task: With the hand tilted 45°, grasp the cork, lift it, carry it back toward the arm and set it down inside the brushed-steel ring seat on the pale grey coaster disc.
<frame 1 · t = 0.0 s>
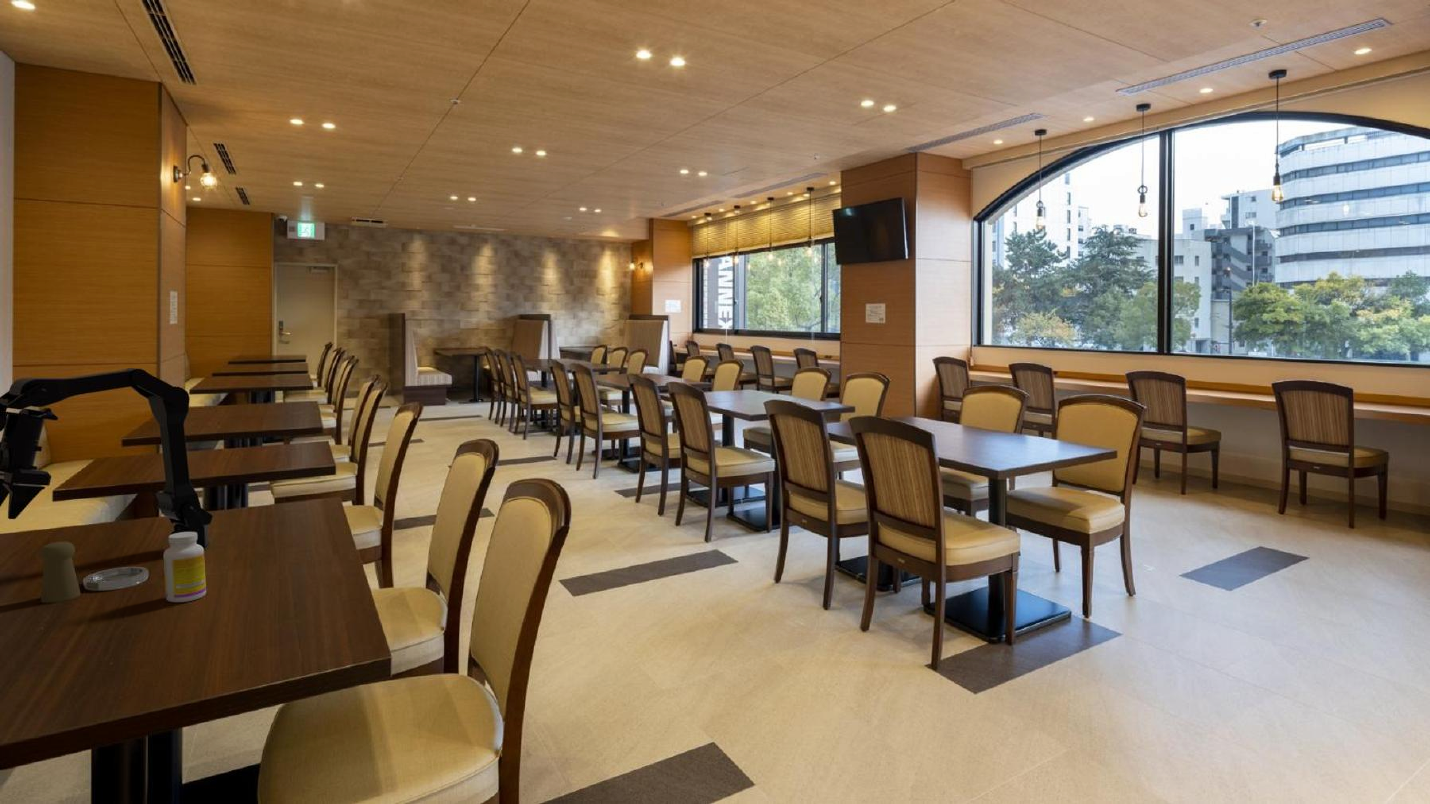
hand: (1, 516, 153), 15 cm above the table, tool pointing down, fingers open, 9 cm apart
ring seat: (116, 582, 160), on the table
cork: (61, 598, 151), on the table
supplement bottle: (186, 598, 152), on the table
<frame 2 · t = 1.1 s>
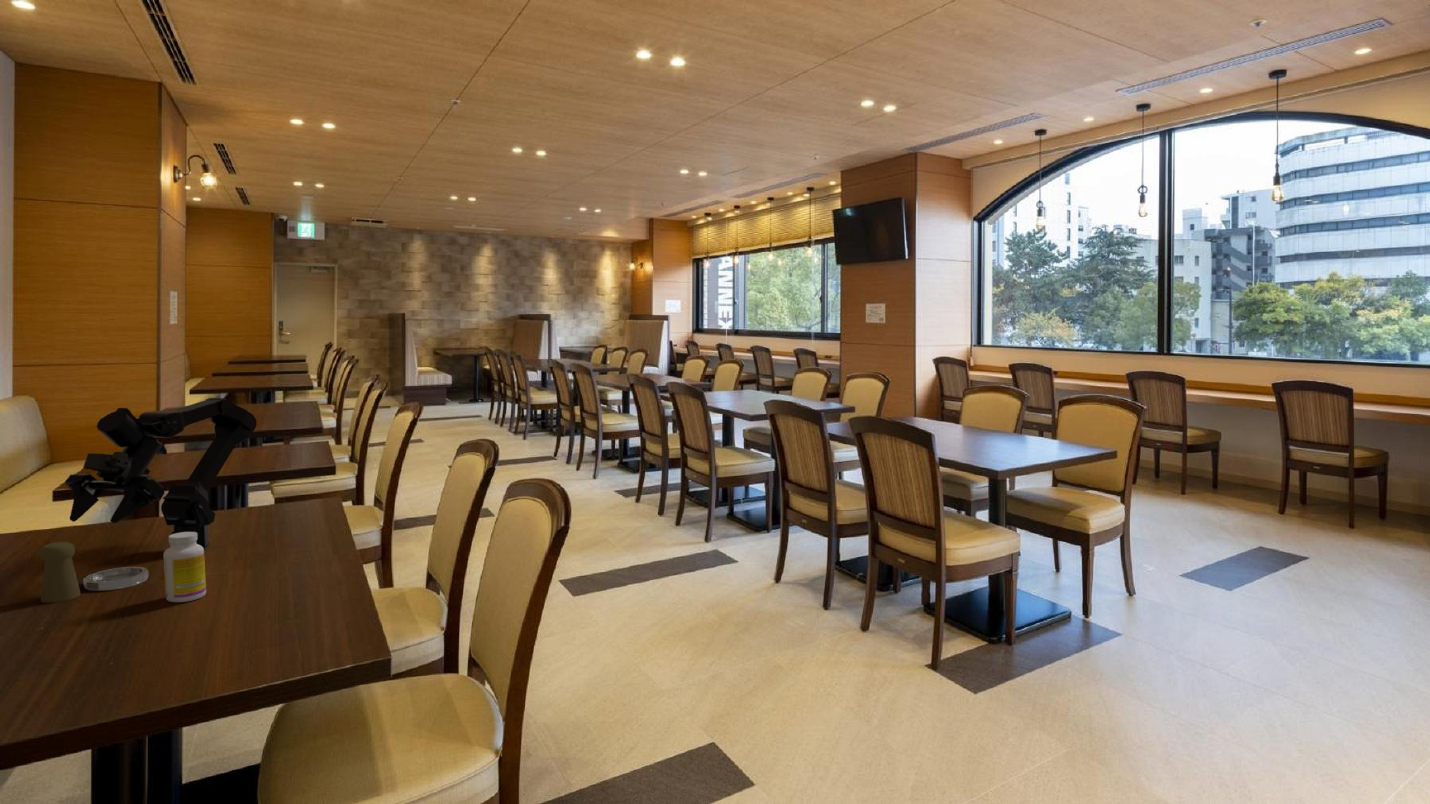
hand: (92, 521, 158), 13 cm above the table, tool tilted 45°, fingers open, 9 cm apart
nothing on the table moved.
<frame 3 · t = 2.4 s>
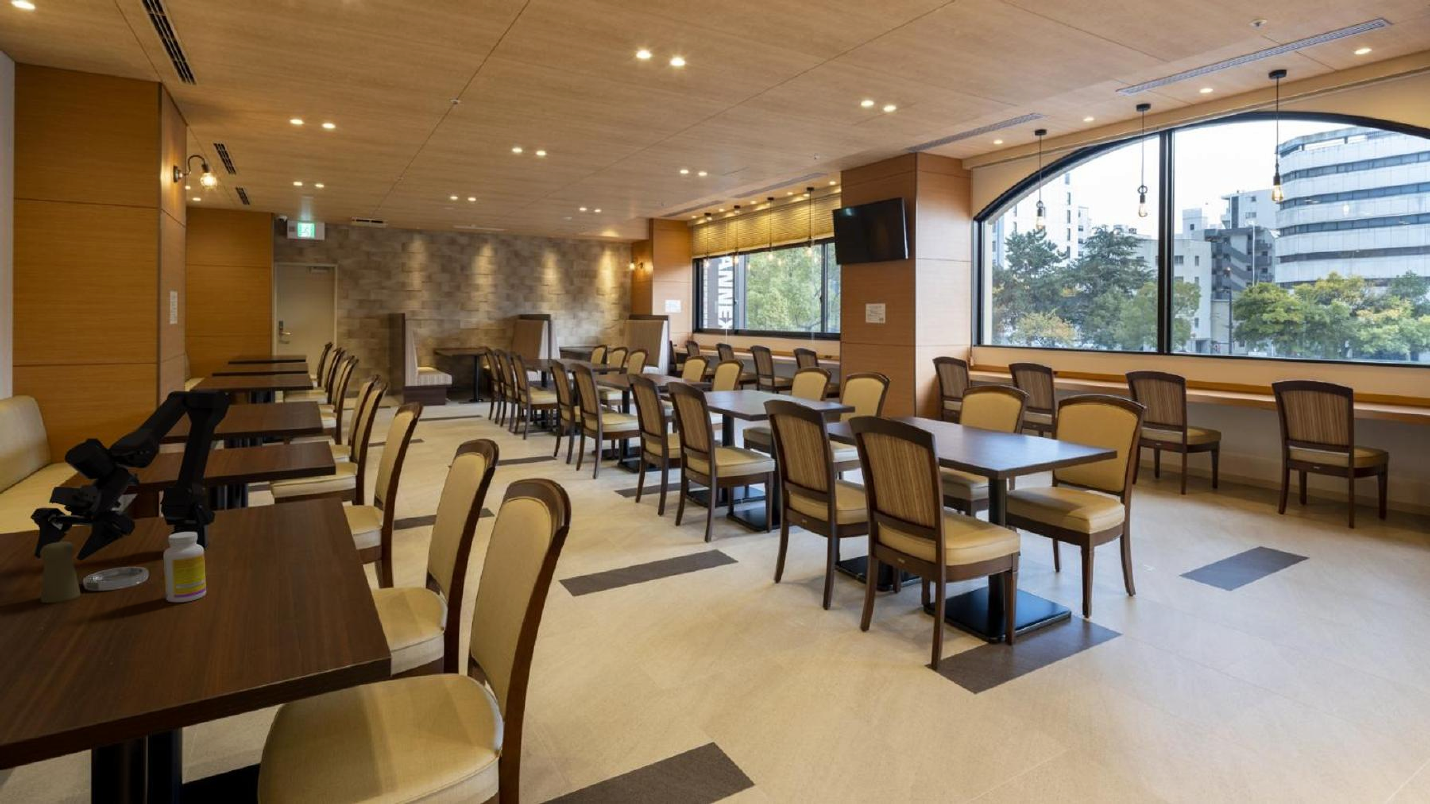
hand: (57, 558, 150), 8 cm above the table, tool tilted 45°, fingers open, 9 cm apart
nothing on the table moved.
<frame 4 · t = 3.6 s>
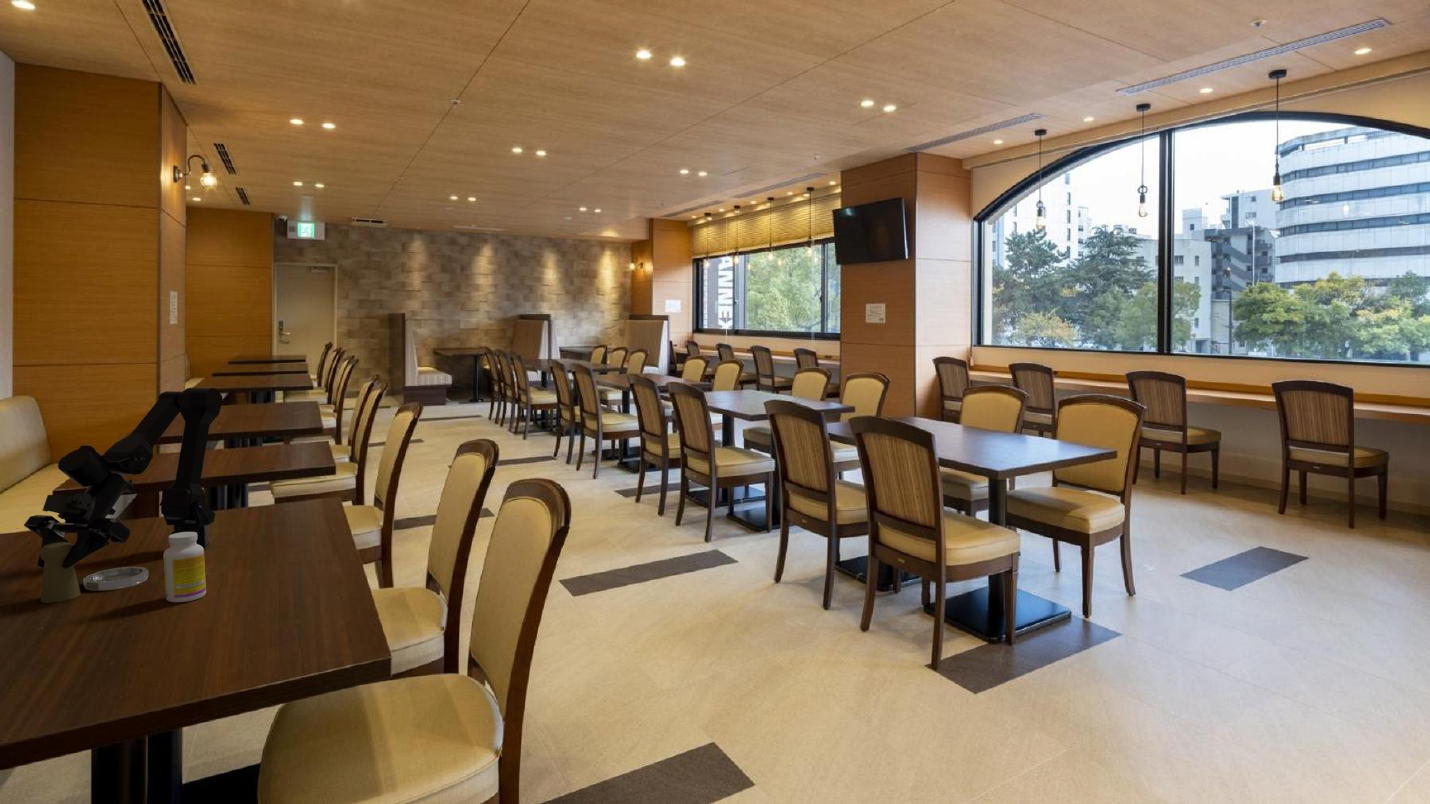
hand: (51, 567, 149), 7 cm above the table, tool tilted 45°, fingers closed on cork, 5 cm apart
cork: (61, 598, 151), on the table, touching gripper
everything else where it was.
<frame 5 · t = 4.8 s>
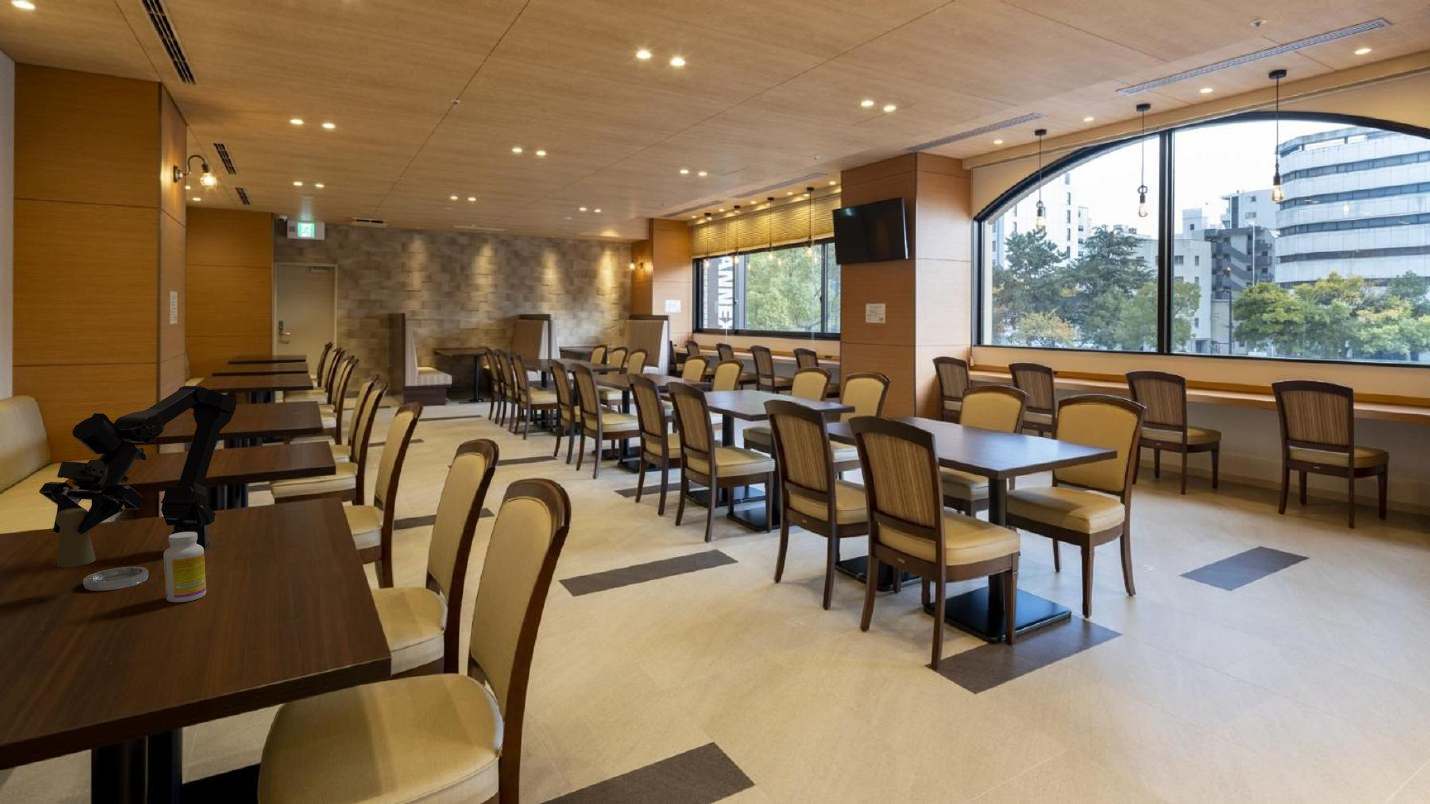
hand: (67, 532, 152), 13 cm above the table, tool tilted 45°, fingers closed on cork, 5 cm apart
cork: (76, 563, 154), point 6 cm above the table, touching gripper
everything else where it was.
when the fingers open (8 cm above the table, at t = 6.6 s): cork drops 1 cm, resting on ring seat.
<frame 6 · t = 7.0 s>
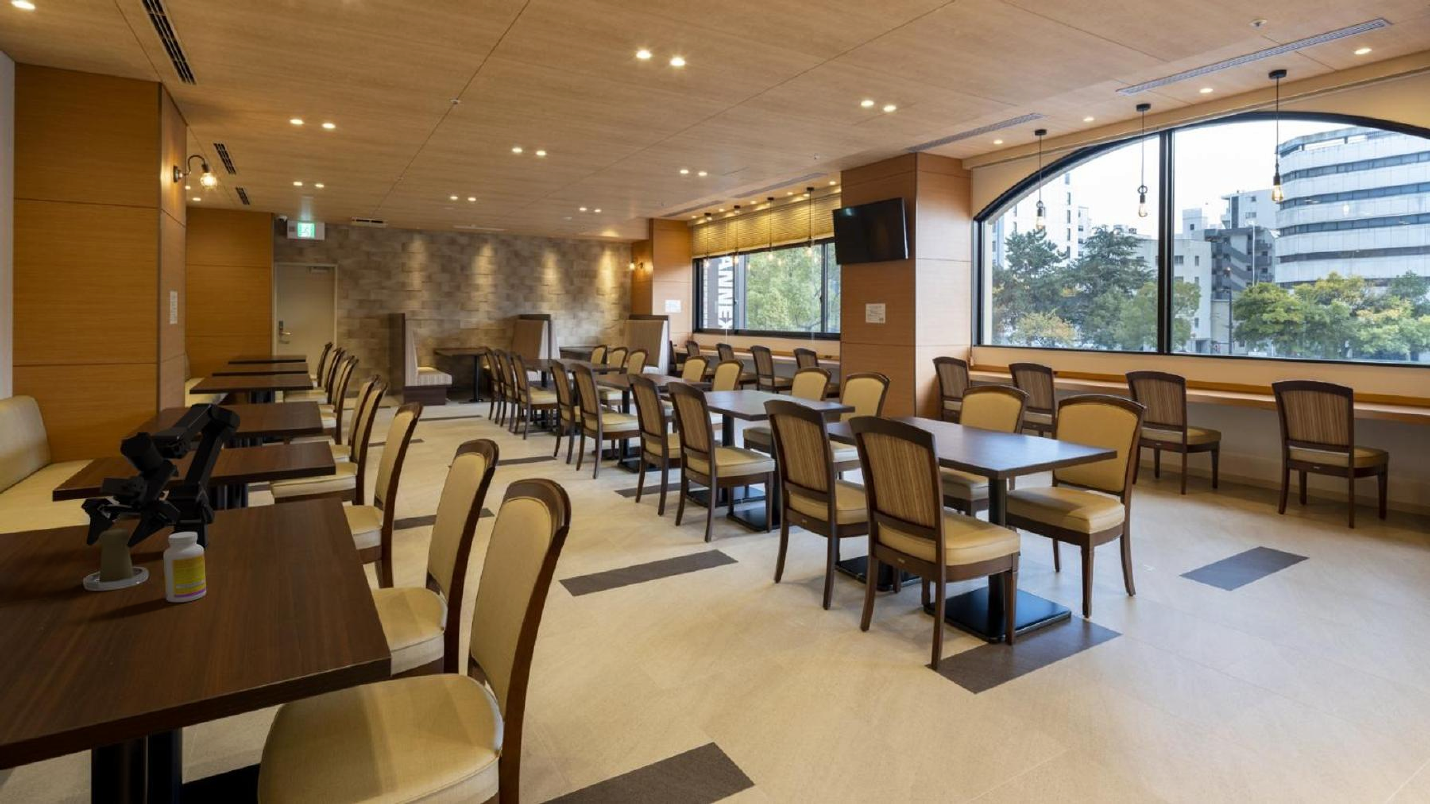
hand: (108, 545, 158), 8 cm above the table, tool tilted 45°, fingers open, 9 cm apart
cork: (117, 581, 160), resting on ring seat
everything else where it was.
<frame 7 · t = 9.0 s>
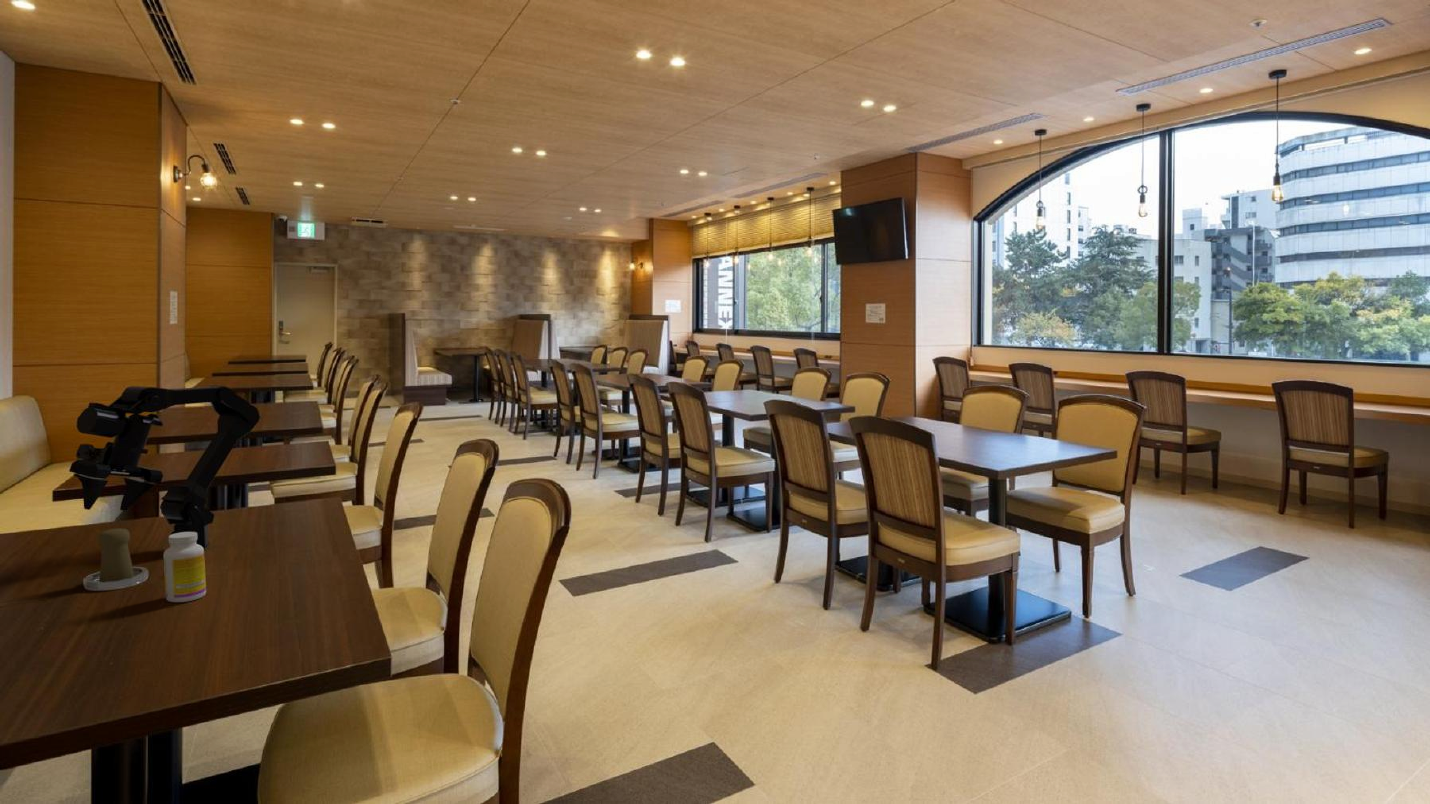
hand: (105, 509, 168), 13 cm above the table, tool tilted 20°, fingers open, 9 cm apart
nothing on the table moved.
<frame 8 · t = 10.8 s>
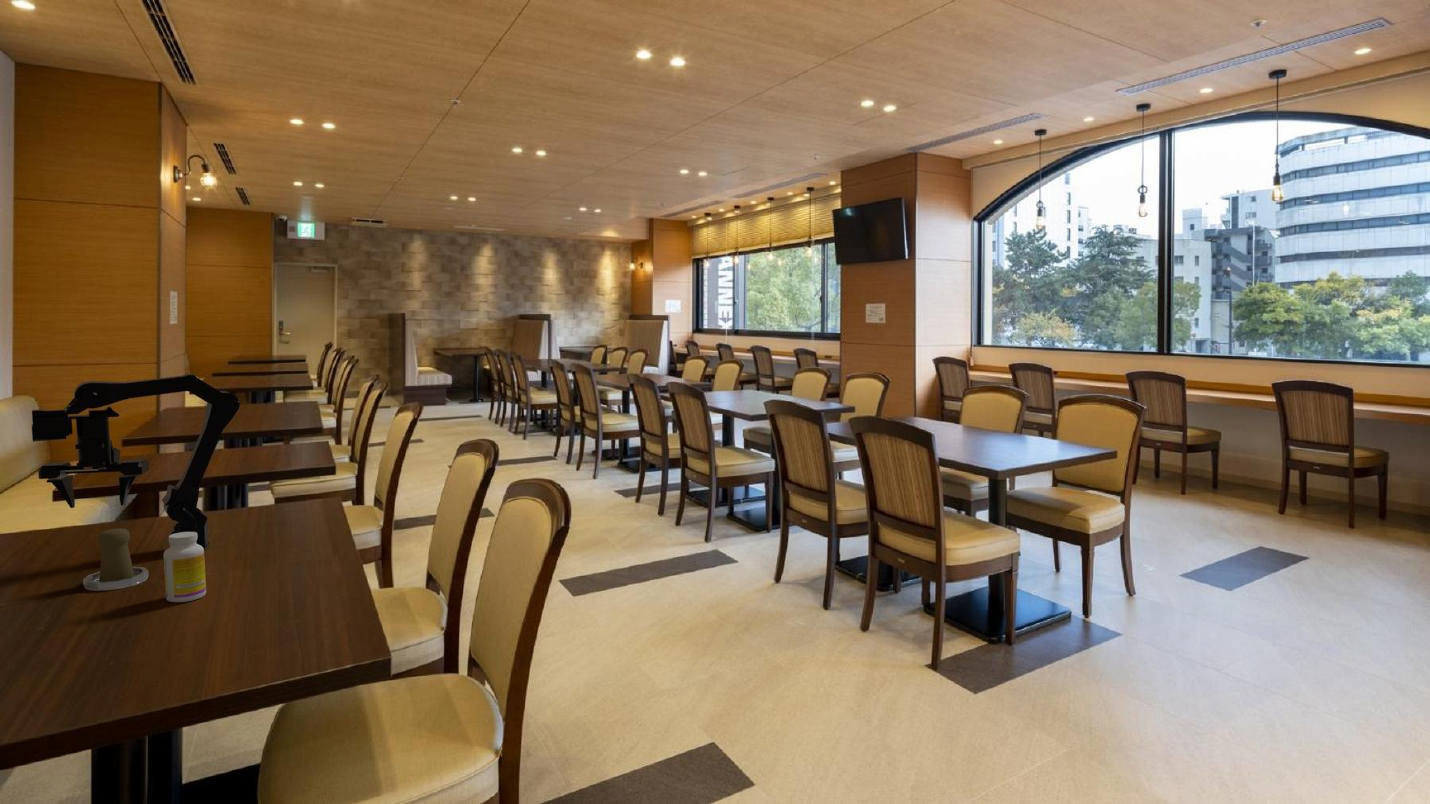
hand: (97, 506, 172), 13 cm above the table, tool pointing down, fingers open, 9 cm apart
nothing on the table moved.
at the end: cork 0.1 cm from the ring seat (horizontally); cork tilted 0°; cork resting on ring seat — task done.
